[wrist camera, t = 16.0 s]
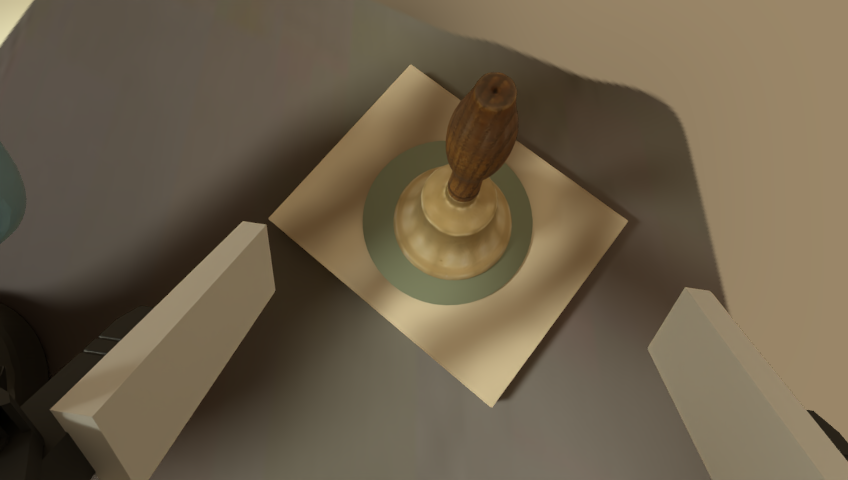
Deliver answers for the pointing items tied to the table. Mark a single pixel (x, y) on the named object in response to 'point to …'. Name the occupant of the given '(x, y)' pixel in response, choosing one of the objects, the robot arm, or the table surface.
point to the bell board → (426, 295)
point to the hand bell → (463, 189)
